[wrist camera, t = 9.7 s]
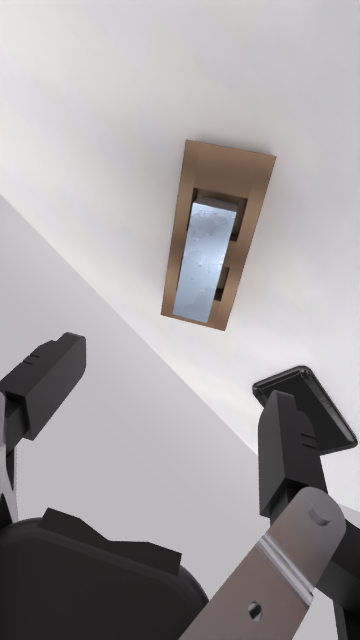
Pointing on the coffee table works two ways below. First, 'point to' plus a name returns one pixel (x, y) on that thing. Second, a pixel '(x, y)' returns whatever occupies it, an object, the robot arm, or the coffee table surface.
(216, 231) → the brushed steel block
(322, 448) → the phone
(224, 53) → the coffee table surface
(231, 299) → the two-pocket wooden block
